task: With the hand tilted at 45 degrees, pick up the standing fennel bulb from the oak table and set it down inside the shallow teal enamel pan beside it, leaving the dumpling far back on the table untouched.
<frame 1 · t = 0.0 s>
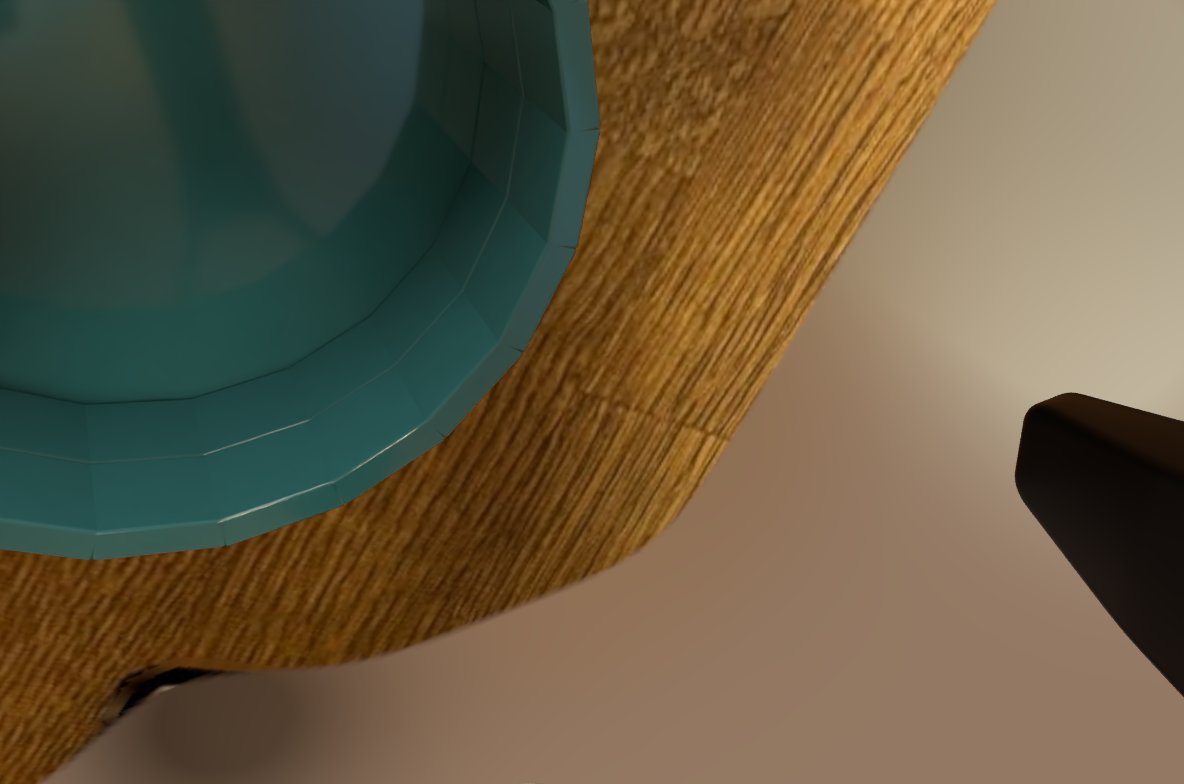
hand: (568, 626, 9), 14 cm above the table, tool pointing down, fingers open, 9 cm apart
pan: (132, 80, 19), on the table
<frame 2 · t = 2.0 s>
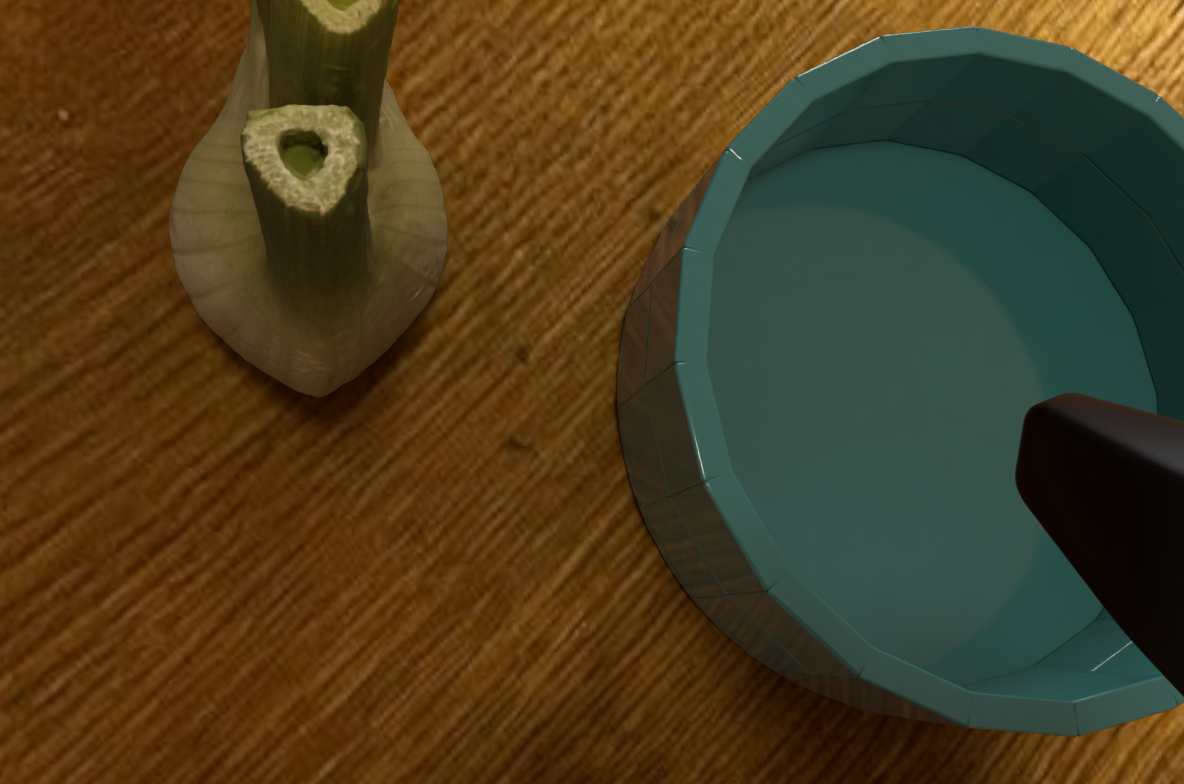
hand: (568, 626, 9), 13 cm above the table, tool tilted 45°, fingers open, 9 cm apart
pan: (905, 405, 24), on the table
fennel bulb: (314, 274, 22), on the table
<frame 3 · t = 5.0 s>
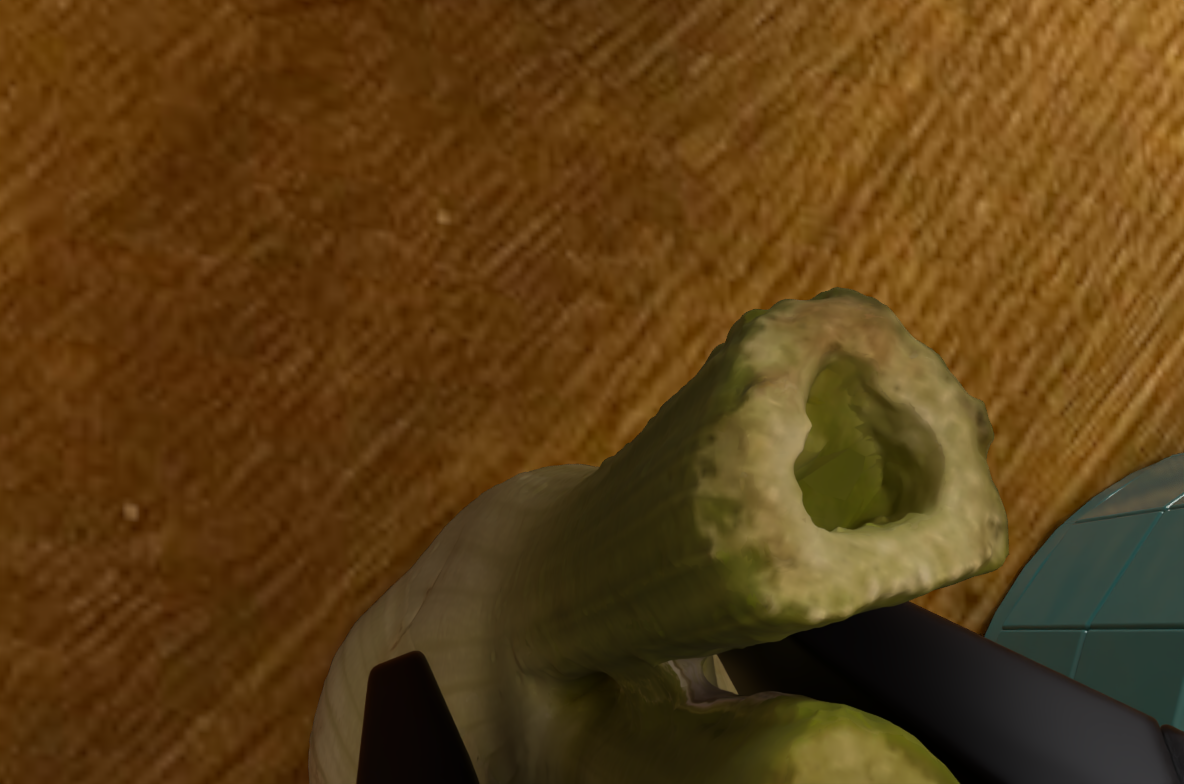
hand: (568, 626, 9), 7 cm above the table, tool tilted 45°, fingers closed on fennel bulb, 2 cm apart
fennel bulb: (504, 732, 15), on the table, touching gripper
when the fingers open (7 cm above the table, at t = 10.5 s): fennel bulb stays where it is, resting on pan.
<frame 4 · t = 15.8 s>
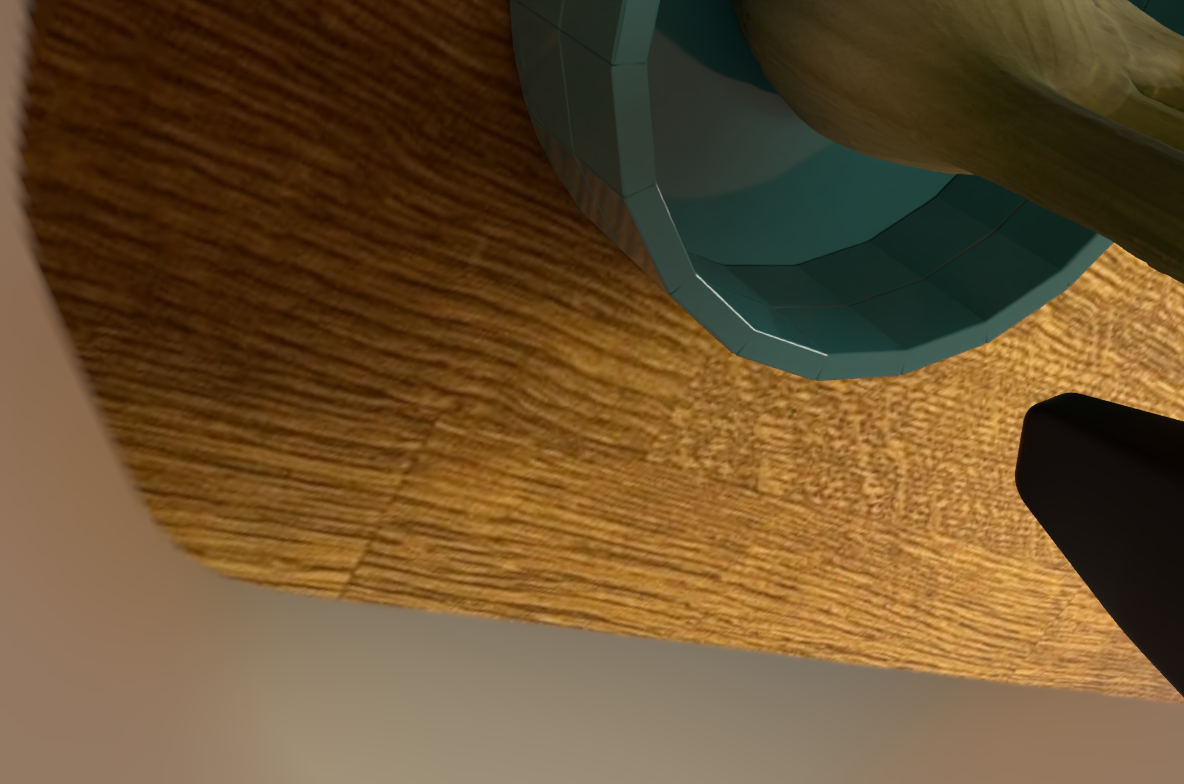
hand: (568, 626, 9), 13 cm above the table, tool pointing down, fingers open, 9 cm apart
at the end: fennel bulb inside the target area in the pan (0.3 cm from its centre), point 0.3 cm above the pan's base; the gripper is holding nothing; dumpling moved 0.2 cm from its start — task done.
